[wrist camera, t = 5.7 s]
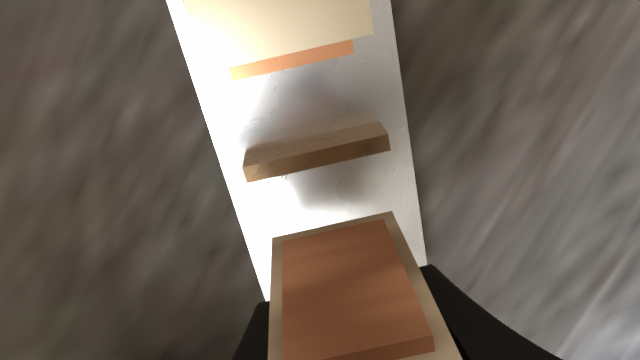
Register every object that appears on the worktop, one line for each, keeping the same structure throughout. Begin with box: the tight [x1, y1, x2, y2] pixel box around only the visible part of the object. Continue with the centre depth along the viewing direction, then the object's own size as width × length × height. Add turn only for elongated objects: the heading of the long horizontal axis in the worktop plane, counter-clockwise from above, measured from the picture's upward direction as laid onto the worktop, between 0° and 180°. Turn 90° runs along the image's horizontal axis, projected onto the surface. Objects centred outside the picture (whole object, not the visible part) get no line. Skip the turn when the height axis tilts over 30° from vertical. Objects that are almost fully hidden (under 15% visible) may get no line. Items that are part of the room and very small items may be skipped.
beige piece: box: [166, 0, 427, 301], centre depth 14 cm, size 15×7×7 cm, turn 12°
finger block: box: [268, 211, 463, 360], centre depth 11 cm, size 4×4×6 cm
